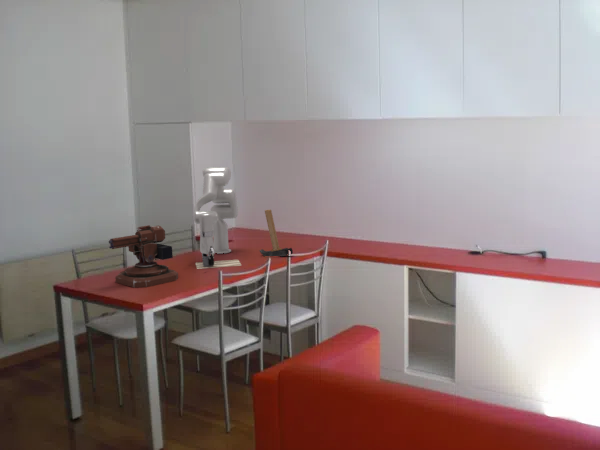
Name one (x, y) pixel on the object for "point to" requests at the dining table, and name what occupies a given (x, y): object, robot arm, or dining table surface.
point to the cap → (205, 260)
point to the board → (219, 264)
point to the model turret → (145, 258)
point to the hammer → (273, 239)
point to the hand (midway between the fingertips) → (208, 263)
